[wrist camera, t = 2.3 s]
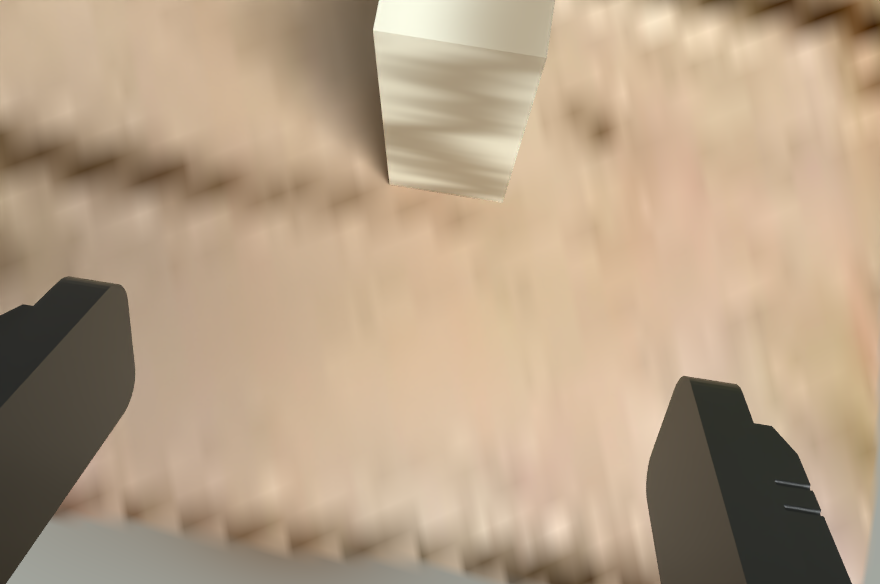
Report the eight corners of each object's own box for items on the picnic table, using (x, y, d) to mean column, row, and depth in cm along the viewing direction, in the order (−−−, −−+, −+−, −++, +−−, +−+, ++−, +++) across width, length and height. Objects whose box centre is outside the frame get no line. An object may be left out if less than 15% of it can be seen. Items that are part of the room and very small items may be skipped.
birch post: (389, 184, 31) (372, 30, 20) (408, 81, 32) (402, -118, 21) (502, 202, 31) (546, 58, 20) (518, 99, 32) (568, -92, 21)
